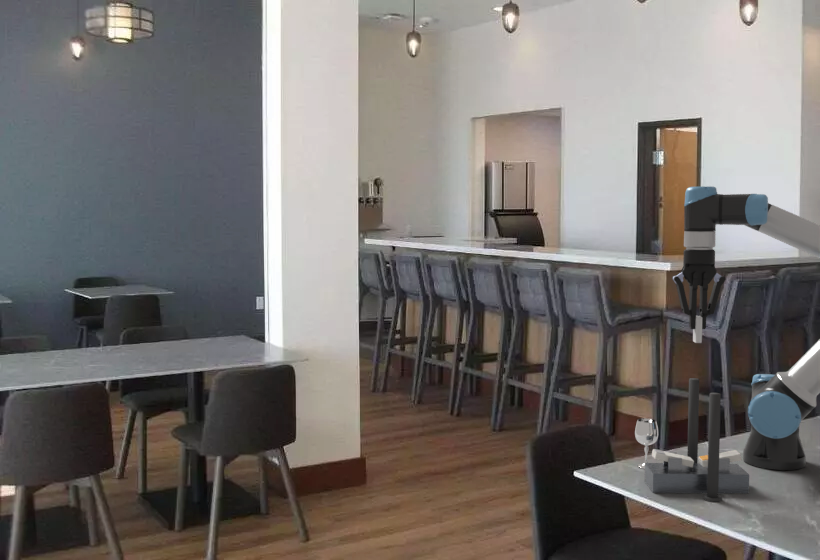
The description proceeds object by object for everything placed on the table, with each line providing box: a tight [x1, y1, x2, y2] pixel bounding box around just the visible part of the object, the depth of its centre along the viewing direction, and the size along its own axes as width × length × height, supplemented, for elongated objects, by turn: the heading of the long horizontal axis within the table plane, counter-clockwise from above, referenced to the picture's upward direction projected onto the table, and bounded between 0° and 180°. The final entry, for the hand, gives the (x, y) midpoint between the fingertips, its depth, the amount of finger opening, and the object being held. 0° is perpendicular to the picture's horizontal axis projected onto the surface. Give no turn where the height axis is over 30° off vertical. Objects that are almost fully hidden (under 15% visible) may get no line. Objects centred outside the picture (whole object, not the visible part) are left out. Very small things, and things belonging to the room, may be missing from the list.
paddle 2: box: [698, 449, 743, 467], centre depth 214 cm, size 9×4×2 cm, turn 87°
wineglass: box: [634, 418, 659, 470], centre depth 232 cm, size 6×6×12 cm
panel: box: [644, 451, 750, 495], centre depth 215 cm, size 22×9×8 cm, turn 87°
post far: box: [686, 377, 700, 463], centre depth 223 cm, size 4×4×24 cm
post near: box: [702, 392, 723, 503], centre depth 205 cm, size 4×4×24 cm
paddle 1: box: [651, 448, 694, 467], centre depth 215 cm, size 9×4×2 cm, turn 88°
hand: (697, 342), depth 228 cm, fingers closed
